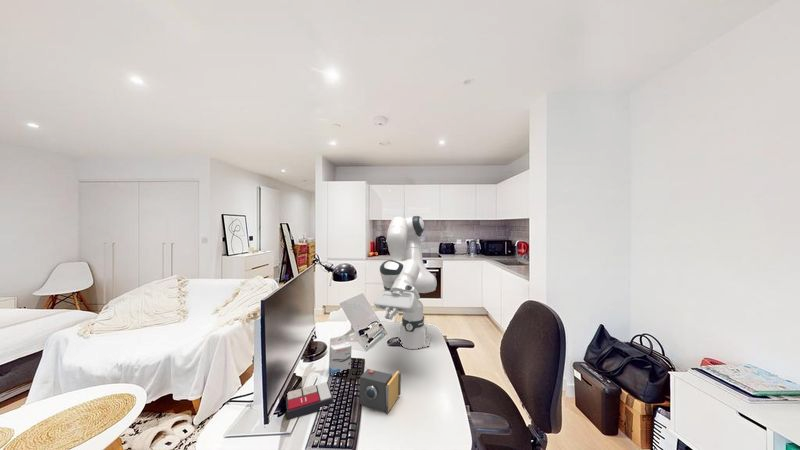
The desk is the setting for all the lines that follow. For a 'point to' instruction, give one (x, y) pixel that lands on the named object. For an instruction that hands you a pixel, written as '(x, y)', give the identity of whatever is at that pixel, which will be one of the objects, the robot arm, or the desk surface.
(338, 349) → the ink box
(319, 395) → the calculator
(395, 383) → the side door
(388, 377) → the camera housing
